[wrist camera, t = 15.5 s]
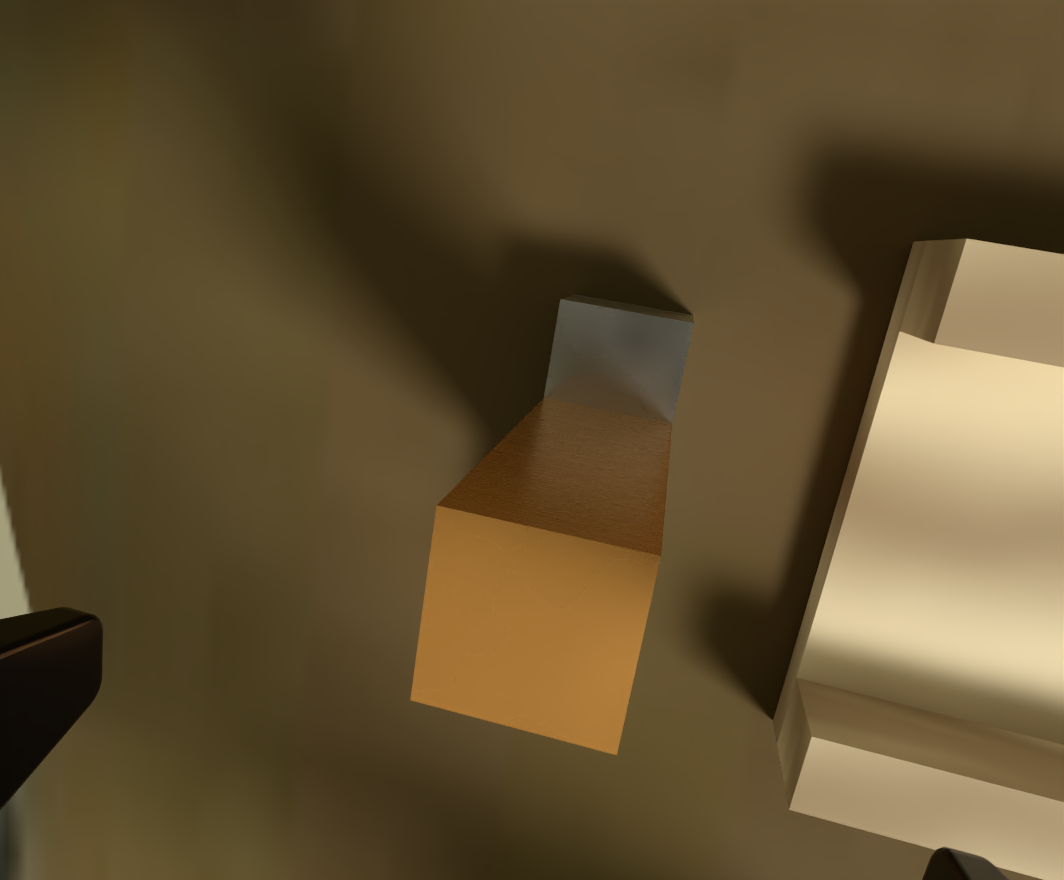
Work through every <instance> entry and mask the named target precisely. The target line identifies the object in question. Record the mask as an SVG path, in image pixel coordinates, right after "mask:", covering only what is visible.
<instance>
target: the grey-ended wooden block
mask: <svg viewBox="0 0 1064 880" xmlns="http://www.w3.org/2000/svg"><path fill="white" fill-rule="evenodd" d="M693 324H694V321H693V315H691V314H685V313H680V312H674V311H668V310H663V309H657V308H652V307H646V306H640V305H635V304H629V303H623V302H618V301H612V300H606V299H601V298H595V297H590V296H584V295H578V294H574V295H571V296H568V297H565V298H562V299H560V304H559V310H558V316H557V322H556V328H555V334H554V340H553V346H552V352H551V358H550V364H549V370H548V376H547V382H546V388H545V394H544V398H543V399H542V400H541V401H540V402H539V403H538V404H537V405H536V406H535V407H534V408H533V409H532V410H531V411H530V412H529V413H528V414H527V415H526V416H525V417H524V418H523V419H522V420H521V421H520V422H519V423H518V424H517V425H516V426H515V427H514V428H513V429H512V430H511V431H510V432H509V433H508V434H507V435H506V436H505V437H504V438H503V439H502V440H501V441H500V442H499V443H498V444H497V445H496V446H495V447H494V448H493V449H492V450H491V451H490V452H489V453H488V454H487V455H486V456H485V457H484V458H483V459H482V460H481V461H480V462H479V463H478V464H477V465H476V466H475V467H474V468H473V469H472V470H471V471H470V472H469V473H468V474H467V475H466V476H465V477H464V479H463V480H462V481H461V482H460V483H459V484H458V485H457V486H456V487H455V488H454V489H453V490H452V491H451V492H450V493H449V494H448V495H447V496H446V497H445V498H444V499H443V500H442V501H441V502H440V503H439V504H438V505H437V506H436V514H435V521H434V529H433V536H432V544H431V551H430V558H429V566H428V573H427V581H426V588H425V595H424V603H423V610H422V618H421V625H420V632H419V640H418V647H417V655H416V662H415V670H414V677H413V684H412V692H411V699H410V700H412V701H415V702H419V703H423V704H427V705H430V706H434V707H438V708H442V709H445V710H449V711H453V712H457V713H460V714H464V715H468V716H472V717H475V718H479V719H483V720H487V721H490V722H494V723H498V724H502V725H505V726H509V727H513V728H517V729H520V730H524V731H528V732H532V733H536V734H539V735H543V736H547V737H551V738H554V739H558V740H562V741H566V742H569V743H573V744H577V745H581V746H584V747H588V748H592V749H596V750H599V751H603V752H607V753H611V754H614V755H617V752H618V747H619V742H620V738H621V733H622V729H623V724H624V720H625V715H626V711H627V706H628V702H629V697H630V693H631V688H632V684H633V679H634V675H635V670H636V666H637V661H638V657H639V652H640V648H641V643H642V639H643V634H644V630H645V625H646V621H647V616H648V612H649V607H650V603H651V598H652V594H653V589H654V585H655V580H656V576H657V571H658V567H659V562H660V558H661V549H662V537H663V525H664V514H665V502H666V490H667V478H668V466H669V454H670V442H671V430H672V422H673V417H674V412H675V408H676V403H677V398H678V394H679V389H680V384H681V380H682V375H683V370H684V366H685V361H686V357H687V352H688V347H689V343H690V338H691V333H692V329H693Z"/></svg>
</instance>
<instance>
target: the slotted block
mask: <svg viewBox="0 0 1064 880" xmlns="http://www.w3.org/2000/svg"><path fill="white" fill-rule="evenodd" d="M773 725H774V731H775V736H776V741H777V747H778V752H779V758H780V763H781V768H782V774H783V779H784V785H785V790H786V795H787V801H788V806H789V810H793V811H796V812H800V813H804V814H807V815H811V816H815V817H818V818H822V819H825V820H829V821H833V822H836V823H840V824H844V825H847V826H851V827H855V828H858V829H862V830H865V831H869V832H873V833H876V834H880V835H884V836H887V837H891V838H894V839H898V840H902V841H905V842H909V843H913V844H916V845H920V846H924V847H927V848H931V849H934V850H937V849H939V848H941V847H949V848H953V849H956V850H960V851H964V852H967V853H971V854H975V855H978V856H981V857H984V858H986V859H987V860H989V861H990V862H991V863H992V864H993V865H994V866H996V867H1000V868H1004V869H1007V870H1011V871H1014V872H1018V873H1022V874H1025V875H1029V876H1033V877H1036V878H1040V879H1043V880H1064V254H1058V253H1052V252H1046V251H1040V250H1034V249H1028V248H1021V247H1015V246H1009V245H1003V244H997V243H991V242H985V241H979V240H972V239H950V240H932V241H914V242H913V245H912V249H911V252H910V255H909V259H908V262H907V266H906V269H905V272H904V276H903V279H902V283H901V286H900V289H899V293H898V296H897V300H896V303H895V307H894V310H893V313H892V317H891V320H890V324H889V327H888V330H887V334H886V337H885V341H884V344H883V347H882V351H881V354H880V358H879V361H878V365H877V368H876V371H875V375H874V378H873V382H872V385H871V388H870V392H869V395H868V399H867V402H866V405H865V409H864V412H863V416H862V419H861V422H860V426H859V429H858V433H857V436H856V440H855V443H854V446H853V450H852V453H851V457H850V460H849V463H848V467H847V470H846V474H845V477H844V480H843V484H842V487H841V491H840V494H839V497H838V501H837V504H836V508H835V511H834V515H833V518H832V521H831V525H830V528H829V532H828V535H827V538H826V542H825V545H824V549H823V552H822V555H821V559H820V562H819V566H818V569H817V573H816V576H815V579H814V583H813V586H812V590H811V593H810V596H809V600H808V603H807V607H806V610H805V613H804V617H803V620H802V624H801V627H800V630H799V634H798V637H797V641H796V644H795V648H794V651H793V654H792V658H791V661H790V665H789V668H788V671H787V675H786V678H785V682H784V685H783V688H782V692H781V695H780V699H779V702H778V705H777V709H776V712H775V716H774V719H773Z"/></svg>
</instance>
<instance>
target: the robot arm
mask: <svg viewBox="0 0 1064 880" xmlns="http://www.w3.org/2000/svg"><path fill="white" fill-rule="evenodd" d="M102 648H103V627H102V623H101V621H100V619H99V618H98V617H97V616H95V615H94V614H90V613H86V612H83V611H79V610H75V609H72V608H67V607H60V608H54V609H49V610H44V611H39V612H34V613H29V614H25V615H19V616H14V617H9V618H5V619H0V810H1V808H2V807H3V806H4V805H5V804H6V803H7V802H8V801H9V800H10V798H11V797H12V796H13V795H14V794H15V793H16V791H17V790H18V789H19V788H20V787H21V786H22V784H23V783H24V782H25V781H26V780H27V778H28V777H29V776H30V775H31V774H32V773H33V771H34V770H35V769H36V768H37V767H38V766H39V764H40V763H41V762H42V761H43V760H44V758H45V757H46V756H47V755H48V754H49V753H50V751H51V750H52V749H53V748H54V747H55V746H56V744H57V743H58V742H59V741H60V740H61V739H62V737H63V736H64V735H65V734H66V733H67V731H68V730H69V729H70V728H71V727H72V726H73V724H74V723H75V722H76V721H77V720H78V719H79V717H80V716H81V715H82V714H83V713H84V711H85V710H86V709H87V708H88V707H89V706H90V704H91V703H92V702H93V700H94V699H95V697H96V695H97V693H98V691H99V689H100V685H101V681H102ZM922 880H1009V879H1008V878H1007V877H1006V876H1005V875H1004V874H1003V873H1002V872H1001V871H1000V870H999V869H998V868H997V867H995V866H994V865H993V864H992V863H991V862H990V861H989V860H987V859H986V858H984V857H981V856H978V855H975V854H971V853H967V852H964V851H960V850H956V849H953V848H949V847H941V848H939V849H937V850H936V851H935V852H934V853H933V854H932V856H931V858H930V861H929V863H928V866H927V868H926V871H925V874H924V876H923V879H922Z"/></svg>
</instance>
